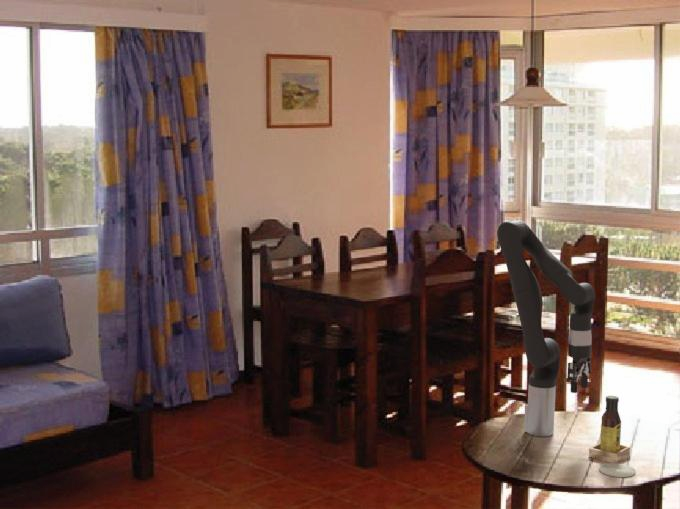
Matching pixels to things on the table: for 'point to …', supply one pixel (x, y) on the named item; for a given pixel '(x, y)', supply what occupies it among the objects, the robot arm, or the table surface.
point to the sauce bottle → (611, 426)
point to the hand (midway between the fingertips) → (579, 390)
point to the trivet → (617, 470)
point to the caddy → (608, 456)
